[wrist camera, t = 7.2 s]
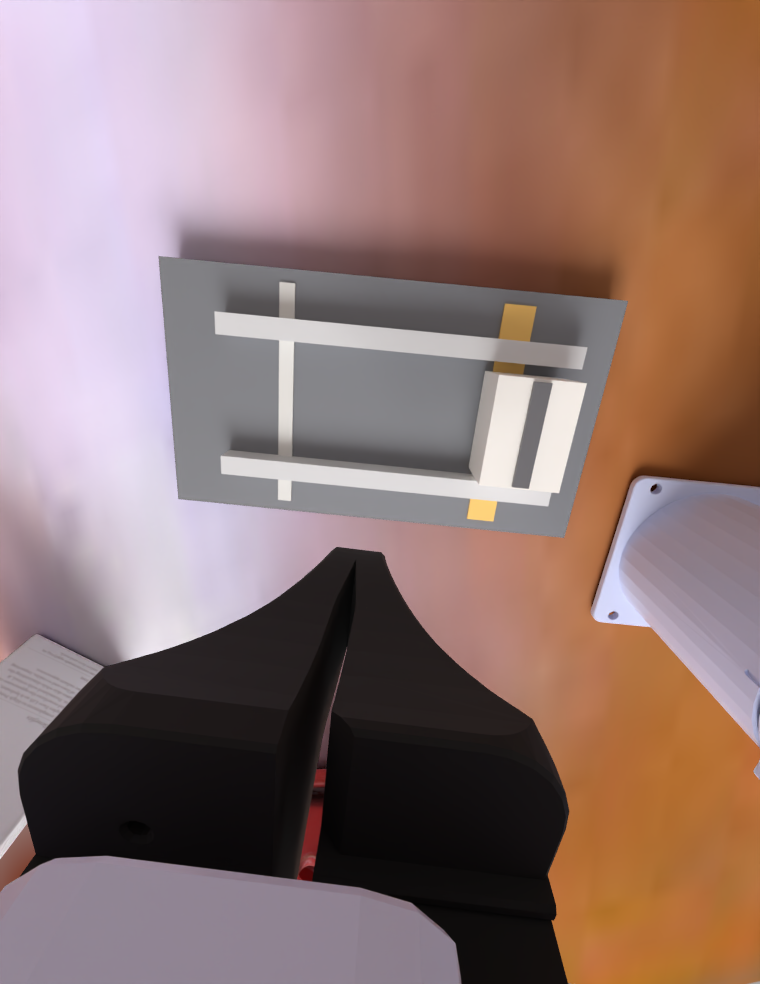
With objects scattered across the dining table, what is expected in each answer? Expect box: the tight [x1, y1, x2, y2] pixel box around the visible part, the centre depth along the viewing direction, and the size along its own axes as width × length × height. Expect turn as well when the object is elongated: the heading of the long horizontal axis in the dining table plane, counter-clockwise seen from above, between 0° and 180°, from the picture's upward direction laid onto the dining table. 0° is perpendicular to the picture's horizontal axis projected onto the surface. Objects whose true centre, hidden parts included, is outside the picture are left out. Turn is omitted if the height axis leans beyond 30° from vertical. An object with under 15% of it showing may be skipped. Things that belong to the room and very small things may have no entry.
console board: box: [159, 256, 628, 538], centre depth 18 cm, size 18×10×2 cm, turn 85°
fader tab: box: [469, 371, 587, 493], centre depth 16 cm, size 3×4×3 cm
